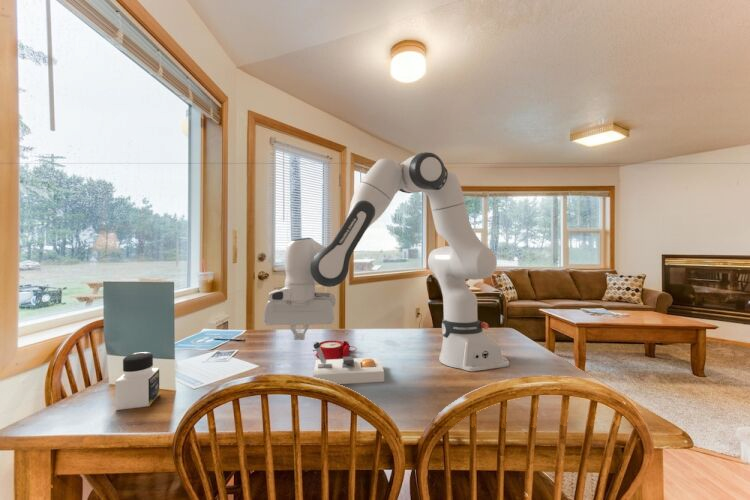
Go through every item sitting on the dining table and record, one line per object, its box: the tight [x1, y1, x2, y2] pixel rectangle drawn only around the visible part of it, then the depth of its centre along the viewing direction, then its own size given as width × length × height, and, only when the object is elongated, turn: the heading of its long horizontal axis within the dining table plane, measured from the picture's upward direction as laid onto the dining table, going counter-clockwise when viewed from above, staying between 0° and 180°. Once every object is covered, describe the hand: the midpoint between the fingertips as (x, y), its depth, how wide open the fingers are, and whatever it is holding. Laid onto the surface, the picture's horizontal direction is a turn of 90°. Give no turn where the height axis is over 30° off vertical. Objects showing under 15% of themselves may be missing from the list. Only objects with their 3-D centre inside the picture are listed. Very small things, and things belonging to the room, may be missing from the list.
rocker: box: [342, 355, 354, 364], centre depth 97 cm, size 3×7×1 cm, turn 7°
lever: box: [313, 341, 327, 365], centre depth 96 cm, size 2×2×7 cm
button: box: [362, 359, 374, 368], centre depth 98 cm, size 4×4×4 cm
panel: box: [312, 356, 385, 385], centre depth 97 cm, size 20×12×3 cm, turn 97°
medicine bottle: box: [114, 351, 160, 411], centre depth 81 cm, size 7×7×12 cm
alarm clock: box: [312, 340, 358, 360], centre depth 116 cm, size 10×6×15 cm
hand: (299, 339), depth 95 cm, fingers closed
